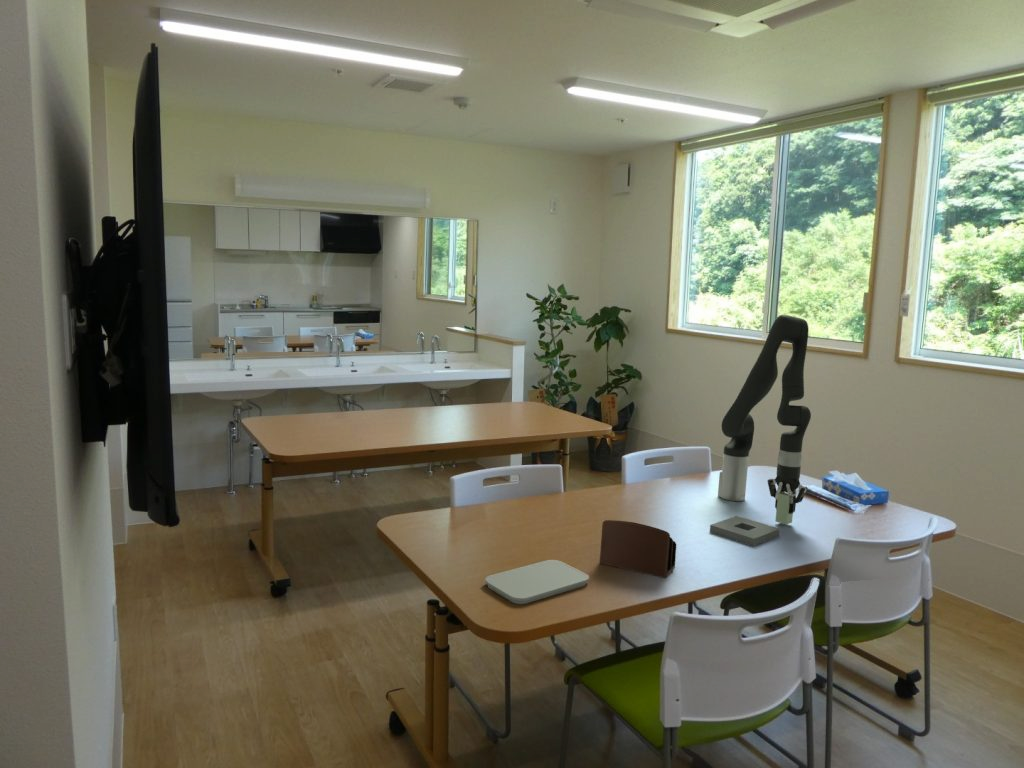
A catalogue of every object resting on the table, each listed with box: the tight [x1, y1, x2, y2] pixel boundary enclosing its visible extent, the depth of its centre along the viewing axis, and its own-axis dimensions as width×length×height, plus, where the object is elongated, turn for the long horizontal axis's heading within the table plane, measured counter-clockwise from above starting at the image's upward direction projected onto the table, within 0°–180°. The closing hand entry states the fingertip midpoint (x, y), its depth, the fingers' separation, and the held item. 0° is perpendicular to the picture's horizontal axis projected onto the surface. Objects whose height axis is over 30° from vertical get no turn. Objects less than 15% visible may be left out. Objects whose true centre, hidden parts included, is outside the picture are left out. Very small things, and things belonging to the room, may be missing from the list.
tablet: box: [484, 559, 590, 605], centre depth 200 cm, size 16×26×2 cm, turn 127°
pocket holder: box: [709, 515, 781, 547], centre depth 246 cm, size 16×16×2 cm
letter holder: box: [599, 519, 677, 579], centre depth 215 cm, size 10×20×14 cm, turn 64°
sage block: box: [775, 492, 794, 525], centre depth 256 cm, size 4×4×10 cm
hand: (784, 511), depth 256 cm, fingers closed on sage block, 4 cm apart
